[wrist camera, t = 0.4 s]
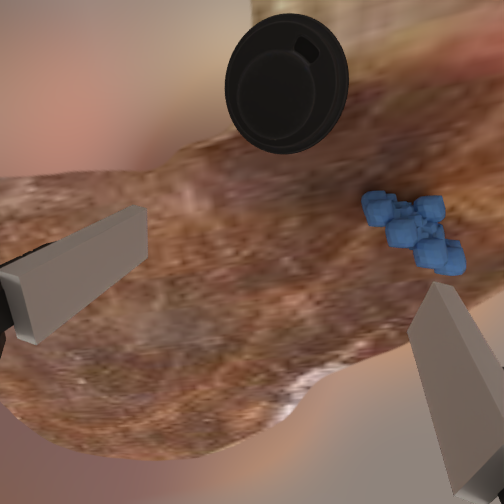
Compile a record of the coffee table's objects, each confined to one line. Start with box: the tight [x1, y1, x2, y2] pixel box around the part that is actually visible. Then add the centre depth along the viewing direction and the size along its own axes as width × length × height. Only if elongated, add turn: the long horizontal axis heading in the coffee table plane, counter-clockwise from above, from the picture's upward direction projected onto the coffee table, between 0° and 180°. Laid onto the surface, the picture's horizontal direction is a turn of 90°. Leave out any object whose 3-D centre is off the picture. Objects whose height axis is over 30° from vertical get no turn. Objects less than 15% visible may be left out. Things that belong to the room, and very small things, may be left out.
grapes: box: [361, 190, 466, 276], centre depth 31 cm, size 12×7×12 cm, turn 62°
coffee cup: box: [225, 13, 349, 154], centre depth 28 cm, size 9×9×15 cm
